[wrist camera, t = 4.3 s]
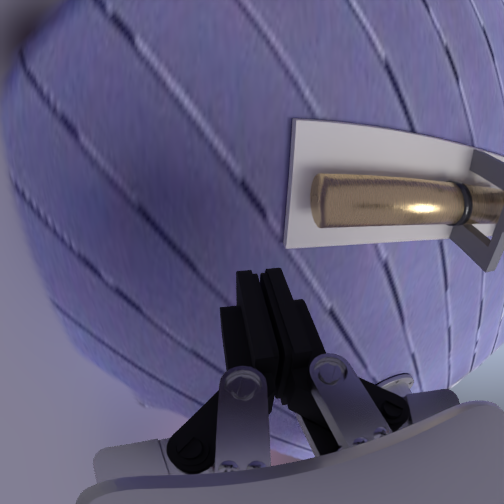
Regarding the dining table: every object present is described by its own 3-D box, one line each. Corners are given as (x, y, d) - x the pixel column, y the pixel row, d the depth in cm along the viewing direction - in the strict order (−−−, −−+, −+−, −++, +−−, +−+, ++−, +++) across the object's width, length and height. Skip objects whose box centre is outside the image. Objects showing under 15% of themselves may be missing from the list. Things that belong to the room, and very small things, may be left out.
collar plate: (516, 230, 32) (551, 262, 25) (283, 242, 26) (314, 312, 19) (536, 168, 26) (577, 195, 19) (292, 118, 20) (343, 144, 13)
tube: (493, 182, 25) (518, 198, 21) (483, 214, 27) (506, 232, 24) (312, 163, 21) (334, 183, 18) (307, 214, 24) (325, 241, 20)
